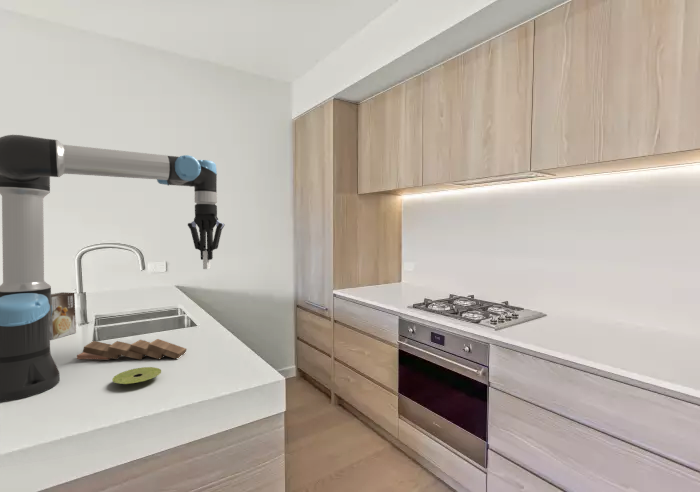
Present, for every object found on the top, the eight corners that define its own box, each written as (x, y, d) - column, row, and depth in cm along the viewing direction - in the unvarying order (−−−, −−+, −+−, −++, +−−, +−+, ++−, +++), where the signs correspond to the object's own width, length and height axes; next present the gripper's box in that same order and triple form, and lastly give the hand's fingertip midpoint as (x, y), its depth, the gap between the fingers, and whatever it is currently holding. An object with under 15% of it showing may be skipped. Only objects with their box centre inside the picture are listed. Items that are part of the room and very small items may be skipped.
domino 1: (119, 350, 117) (89, 349, 118) (107, 355, 112) (76, 355, 113) (119, 355, 118) (89, 355, 118) (108, 361, 112) (77, 360, 113)
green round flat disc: (111, 394, 88) (111, 386, 88) (112, 379, 97) (112, 371, 97) (163, 384, 94) (163, 377, 94) (159, 370, 103) (159, 363, 103)
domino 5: (186, 348, 117) (157, 338, 117) (179, 354, 112) (148, 343, 112) (185, 353, 117) (155, 343, 117) (177, 359, 112) (147, 349, 112)
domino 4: (170, 348, 117) (140, 339, 117) (161, 354, 112) (130, 344, 112) (168, 353, 117) (138, 344, 117) (160, 359, 112) (129, 349, 112)
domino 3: (149, 348, 117) (117, 341, 116) (142, 354, 112) (108, 346, 110) (147, 353, 117) (115, 346, 116) (140, 359, 112) (107, 352, 110)
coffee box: (63, 332, 143) (62, 291, 142) (76, 333, 142) (75, 292, 141) (39, 338, 134) (37, 295, 133) (53, 339, 133) (51, 296, 132)
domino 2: (126, 347, 117) (93, 340, 115) (118, 353, 112) (84, 346, 110) (125, 352, 117) (92, 346, 115) (116, 359, 112) (82, 352, 110)
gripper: (227, 204, 134) (228, 267, 135) (193, 204, 135) (194, 267, 136) (219, 203, 127) (220, 269, 127) (183, 203, 127) (184, 269, 128)
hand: (206, 268), depth 131 cm, fingers closed
